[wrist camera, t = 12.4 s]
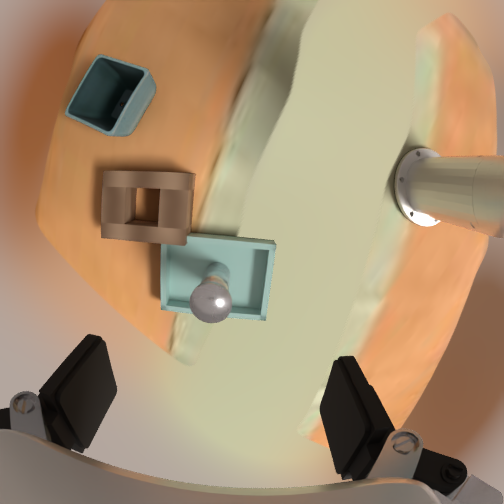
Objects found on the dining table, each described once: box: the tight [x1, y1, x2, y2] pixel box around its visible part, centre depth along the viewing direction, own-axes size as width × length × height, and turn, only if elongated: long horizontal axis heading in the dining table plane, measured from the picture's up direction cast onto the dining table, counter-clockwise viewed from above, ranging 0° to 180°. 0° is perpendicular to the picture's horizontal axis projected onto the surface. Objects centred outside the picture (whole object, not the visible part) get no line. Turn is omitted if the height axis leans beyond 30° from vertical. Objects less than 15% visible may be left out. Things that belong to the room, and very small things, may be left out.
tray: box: [160, 232, 276, 321], centre depth 38 cm, size 15×11×3 cm
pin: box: [189, 262, 232, 323], centre depth 34 cm, size 5×5×10 cm
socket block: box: [101, 171, 196, 246], centre depth 34 cm, size 12×9×4 cm
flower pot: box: [65, 54, 156, 137], centre depth 28 cm, size 9×9×9 cm
